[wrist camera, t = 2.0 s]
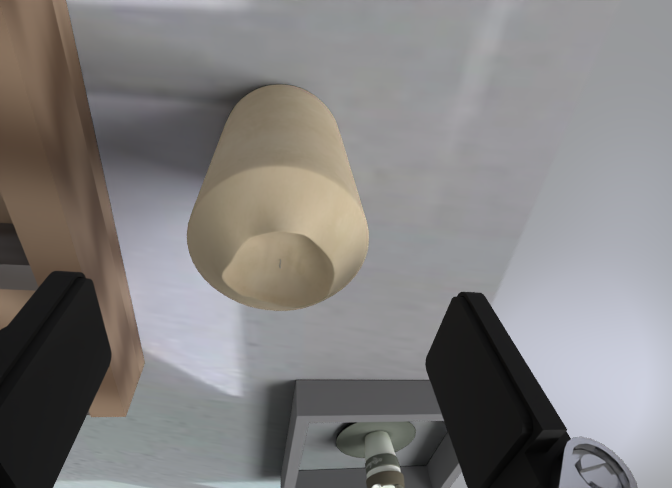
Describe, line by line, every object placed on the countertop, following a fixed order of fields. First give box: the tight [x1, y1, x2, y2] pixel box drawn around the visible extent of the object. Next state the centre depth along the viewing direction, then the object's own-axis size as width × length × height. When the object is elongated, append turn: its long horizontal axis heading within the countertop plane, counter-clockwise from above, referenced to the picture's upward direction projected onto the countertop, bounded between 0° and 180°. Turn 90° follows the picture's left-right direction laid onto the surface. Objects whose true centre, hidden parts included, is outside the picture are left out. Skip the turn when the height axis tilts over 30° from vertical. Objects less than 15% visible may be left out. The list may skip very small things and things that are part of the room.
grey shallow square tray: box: [281, 380, 462, 488], centre depth 35 cm, size 17×17×3 cm
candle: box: [187, 84, 369, 311], centre depth 14 cm, size 6×6×10 cm
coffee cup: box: [336, 421, 416, 488], centre depth 34 cm, size 12×12×5 cm
